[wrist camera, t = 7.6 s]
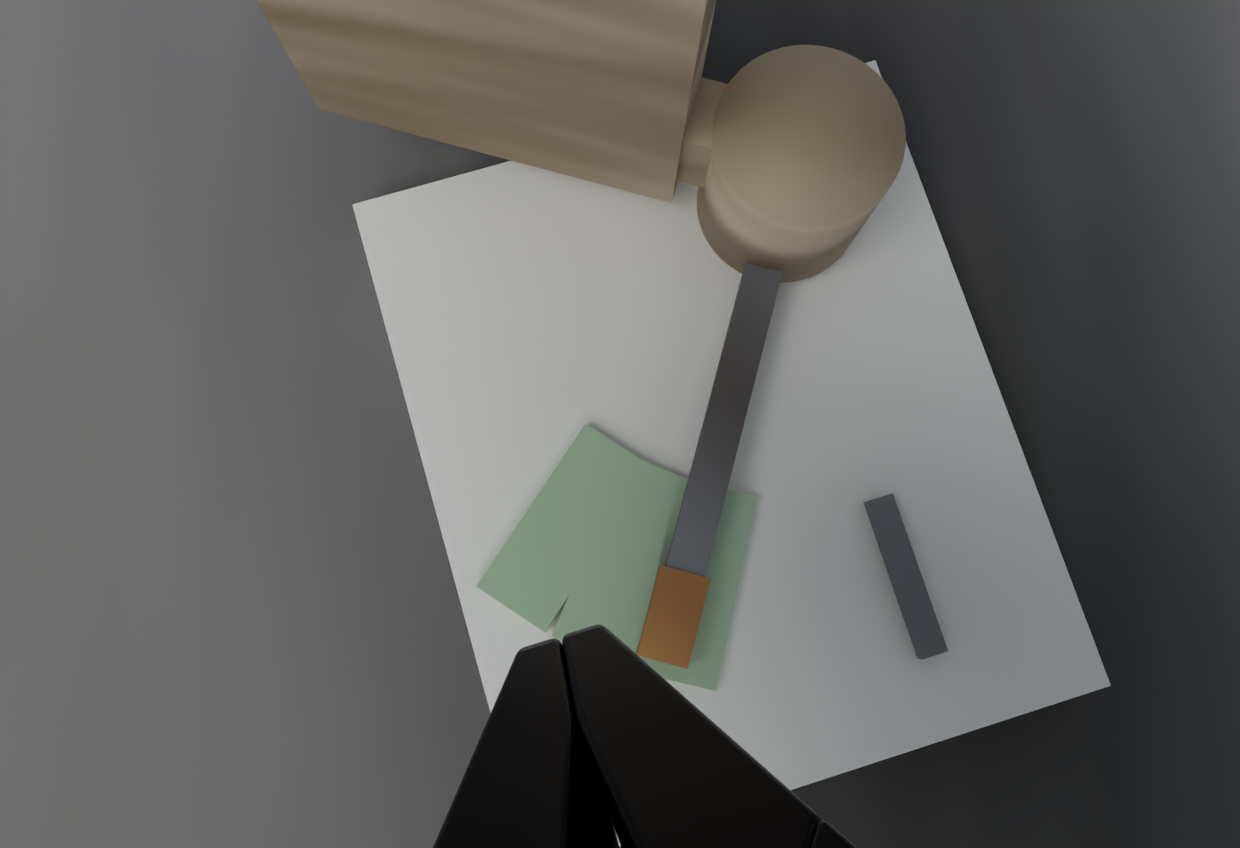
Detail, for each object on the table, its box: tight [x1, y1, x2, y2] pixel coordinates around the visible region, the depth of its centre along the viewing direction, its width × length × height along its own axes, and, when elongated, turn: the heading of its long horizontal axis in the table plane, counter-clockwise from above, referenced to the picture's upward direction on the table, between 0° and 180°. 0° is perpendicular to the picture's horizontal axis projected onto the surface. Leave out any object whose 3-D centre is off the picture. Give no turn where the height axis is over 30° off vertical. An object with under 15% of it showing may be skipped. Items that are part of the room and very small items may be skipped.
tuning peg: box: [256, 0, 906, 669], centre depth 15 cm, size 11×11×8 cm
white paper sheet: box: [352, 61, 1111, 846], centre depth 19 cm, size 13×11×2 cm
